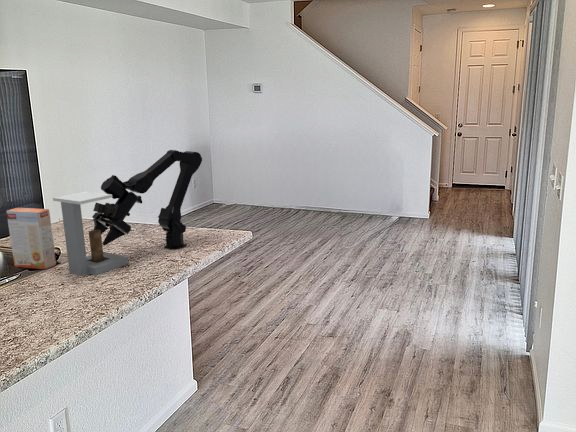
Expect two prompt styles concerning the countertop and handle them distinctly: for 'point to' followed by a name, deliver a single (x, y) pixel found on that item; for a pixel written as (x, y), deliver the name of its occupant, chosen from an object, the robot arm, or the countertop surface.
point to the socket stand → (75, 236)
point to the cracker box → (31, 238)
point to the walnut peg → (96, 246)
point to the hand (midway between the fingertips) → (97, 242)
